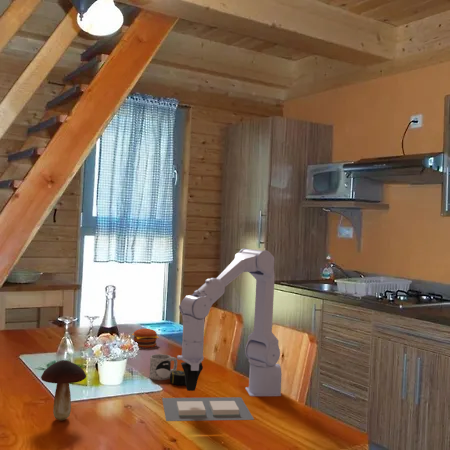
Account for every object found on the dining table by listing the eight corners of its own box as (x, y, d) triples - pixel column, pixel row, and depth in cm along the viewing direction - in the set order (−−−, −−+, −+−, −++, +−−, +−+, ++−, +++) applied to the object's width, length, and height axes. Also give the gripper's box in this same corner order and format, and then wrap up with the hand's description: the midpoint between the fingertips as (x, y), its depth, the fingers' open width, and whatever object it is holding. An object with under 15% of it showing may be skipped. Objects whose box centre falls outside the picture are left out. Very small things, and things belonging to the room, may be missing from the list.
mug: (157, 381, 181) (158, 360, 181) (145, 376, 186) (146, 355, 186) (182, 376, 188) (183, 356, 188) (170, 371, 193) (171, 352, 193)
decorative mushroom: (47, 411, 151) (50, 354, 150) (89, 413, 150) (91, 356, 150) (32, 426, 140) (34, 365, 139) (77, 429, 139) (79, 367, 139)
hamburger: (129, 343, 231) (130, 327, 230) (152, 342, 235) (153, 326, 235) (136, 349, 222) (137, 331, 222) (160, 347, 226) (161, 330, 226)
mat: (240, 398, 168) (241, 397, 168) (254, 421, 150) (254, 419, 150) (161, 399, 164) (162, 397, 164) (166, 422, 146) (166, 420, 146)
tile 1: (234, 400, 160) (239, 409, 153) (234, 406, 160) (238, 415, 153) (209, 401, 158) (213, 409, 151) (209, 406, 158) (212, 415, 152)
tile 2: (202, 401, 158) (205, 409, 151) (202, 406, 158) (205, 416, 151) (176, 401, 157) (179, 410, 150) (176, 407, 157) (178, 416, 150)
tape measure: (193, 387, 177) (194, 375, 177) (172, 388, 175) (172, 376, 175) (188, 380, 184) (188, 369, 184) (167, 381, 182) (167, 369, 182)
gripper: (176, 334, 162) (173, 382, 162) (180, 346, 148) (178, 398, 148) (200, 334, 163) (198, 382, 163) (207, 346, 149) (205, 398, 149)
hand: (190, 390), depth 156 cm, fingers closed
